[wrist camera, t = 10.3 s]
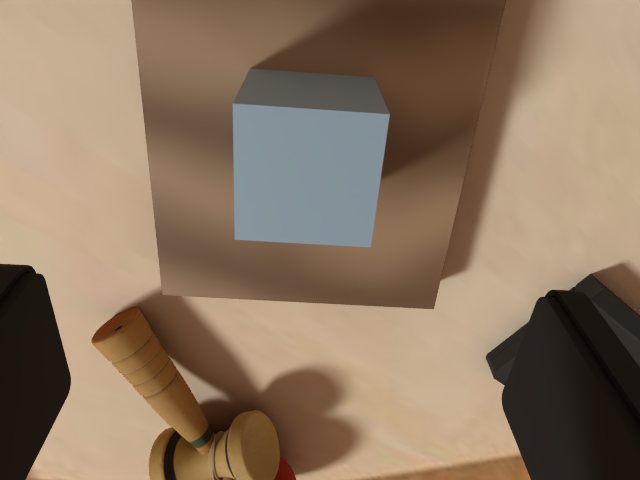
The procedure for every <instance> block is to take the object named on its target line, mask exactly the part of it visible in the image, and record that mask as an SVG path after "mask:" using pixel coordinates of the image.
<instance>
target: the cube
mask: <svg viewBox="0 0 640 480" xmlns="http://www.w3.org/2000/svg"><path fill="white" fill-rule="evenodd" d="M389 117H390V113H389V111H388V109H387V106H386V104H385V102H384V99H383V97H382V95H381V92H380V90H379V87H378V85H377V83H376V80H375V78H374V77H362V76H348V75H334V74H320V73H307V72H293V71H279V70H265V69H251V68H250V69H249V71H248V73H247V75H246V77H245V80H244V82H243V84H242V86H241V88H240V90H239V92H238V94H237V96H236V98H235V100H234V102H233V160H234V227H235V240H249V241H266V242H284V243H301V244H319V245H336V246H354V247H371V242H372V235H373V228H374V221H375V214H376V207H377V200H378V194H379V187H380V180H381V173H382V166H383V159H384V152H385V145H386V138H387V131H388V124H389Z"/></svg>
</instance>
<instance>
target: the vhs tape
mask: <svg viewBox="0 0 640 480" xmlns="http://www.w3.org/2000/svg"><path fill="white" fill-rule="evenodd" d="M569 291H581V292H584V293H585V294H586V295H587V296H588V297H589V299H590V300H591V301H592V303H593V304H594V306H595V307H596V308H597V310H598V311H599V312H600V314H601V315H602V316H603V318H604V319H605V320H606V322H607V323H608V325H609V326H610V327H611V329H612V330H613V331H614V333H615V334H616V335H617V337H618V338H619V339H620V341H621V342H622V343H623V345H624V346H625V348H626V349H627V350H628V352H629V353H630V354H631V356H632V357H633V358H634V360H635V361H636V362H637V364H638V365H639V366H640V315H639V314H637V313H636V312H635V311H634V310H633V309H631V308H630V307H629V306H628V305H627V304H626V303H624V302H623V301H622V300H621V299H620V298H618V297H617V296H616V295H615V294H614V293H613V292H611V291H610V290H609V289H608V288H607V287H606V286H604V285H603V284H602V283H601V282H600V281H598V280H597V279H596V278H595V277H594V276H593V275H591V274H590V275H588V276H587V277H586V278H585V279H583V280H582V281H581V282H579V283H578V284H577V285H576V286H575V287H573V288H572V289H570V290H569ZM528 323H529V322H528ZM528 323H527V324H525V325H524V326H523V327H522V328H520V329H519V330H518V331H516V332H515V333H514V334H513V335H511V336H510V337H509V338H507V339H506V340H505V341H504V342H502V343H501V344H500V345H498V346H497V347H496V348H494V349H493V350H492V351H491V352H489V353H488V354H487V356H486V359H487V362H488V364H489V367H490V369H491V372H492V375H493V377H494V379H496V380H497V381H499V382H500V383H502V384H503V385H505V384H506V381H507V379H508V376H509V373H510V371H511V368H512V365H513V363H514V360H515V358H516V355H517V352H518V350H519V347H520V344H521V342H522V339H523V336H524V334H525V331H526V328H527V326H528Z"/></svg>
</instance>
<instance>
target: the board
mask: <svg viewBox="0 0 640 480" xmlns="http://www.w3.org/2000/svg"><path fill="white" fill-rule="evenodd" d="M505 1H506V0H132V9H133V19H134V28H135V38H136V47H137V57H138V66H139V76H140V85H141V95H142V104H143V114H144V123H145V133H146V142H147V152H148V161H149V171H150V180H151V190H152V199H153V209H154V218H155V228H156V238H157V247H158V257H159V266H160V276H161V285H162V295H173V296H192V297H211V298H231V299H250V300H269V301H288V302H308V303H327V304H346V305H365V306H384V307H404V308H423V309H434V306H435V301H436V297H437V293H438V289H439V284H440V280H441V276H442V271H443V267H444V263H445V259H446V254H447V250H448V246H449V241H450V237H451V233H452V229H453V224H454V220H455V216H456V211H457V207H458V203H459V199H460V194H461V190H462V186H463V181H464V177H465V173H466V169H467V164H468V160H469V156H470V151H471V147H472V143H473V138H474V134H475V130H476V126H477V121H478V117H479V113H480V108H481V104H482V100H483V96H484V91H485V87H486V83H487V78H488V74H489V70H490V66H491V61H492V57H493V53H494V48H495V44H496V40H497V36H498V31H499V27H500V23H501V18H502V14H503V10H504V6H505ZM250 68H251V69H265V70H279V71H293V72H307V73H320V74H334V75H348V76H362V77H374V78H375V80H376V83H377V85H378V87H379V90H380V92H381V95H382V97H383V99H384V102H385V104H386V106H387V109H388V111H389V113H390V117H389V124H388V131H387V138H386V145H385V152H384V159H383V166H382V173H381V180H380V187H379V194H378V200H377V207H376V214H375V221H374V228H373V235H372V242H371V247H354V246H336V245H319V244H301V243H284V242H266V241H249V240H235V227H234V160H233V102H234V100H235V98H236V96H237V94H238V92H239V90H240V88H241V86H242V84H243V82H244V80H245V77H246V75H247V73H248V71H249V69H250Z"/></svg>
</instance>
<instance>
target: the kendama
mask: <svg viewBox="0 0 640 480" xmlns="http://www.w3.org/2000/svg"><path fill="white" fill-rule="evenodd" d="M92 343H93V345H94V346H95V347H96V348H97V349H98V350H99V351H100V352H101V353H102V354H103V355H104V356H105V357H106V358H107V359H108V360H109V361H111V362H112V364H113V365H114V366H115V367H116V369H117V370H118V371H119V372H120V373H122V375H123V376H124V377H125V378H126V379H127V380H128V381H129V383H131V384H132V385H133V387H134V388H135V389H136V390H137V391H138V392H139V394H140V395H142V396H143V398H144V399H145V400H146V401H147V402H148V403H149V404H150V406H151V407H152V408H153V409H154V410H155V411H156V412H157V413H158V414H159V415H160V416H161V417H162V418H163V419H164V420H165V421H166V422H167V423H168V424H169V425H170V426H171V427H172V428H169V429H166V430H165V431H163V432H162V433H161V434H160V435H159V436H158V437H157V439H156V440H155V442H154V444H153V446H152V449H151V454H150V458H149V476H150V480H296V477H295V475H294V473H293V471H292V469H291V467H290V466H289V464H288V463H287V462H286V461H285V460H284V459H283V458H282V457H281V456H280V448H279V441H278V436H277V433H276V430H275V428H274V425H273V423H272V422H271V420H270V419H269V417H268V416H267V415H266V414H265V413H263V412H261V411H258V410H254V411H249V412H244V413H241V414H239V415H238V416H237V417H236V418H235V419H234V421H233V422H232V424H231V426H230V428H229V429H228V430H227V431H226V432H223V431H220V432H218V433H217V434H214V433H213V431H212V429H211V427H210V425H209V423H208V421H207V420H206V417H205V416H204V414H203V412H202V410H201V408H200V406H199V404H198V402H197V401H196V399H195V397H194V395H193V394H192V392H191V390H190V388H189V387H188V385H187V384H186V382H185V381H184V379H183V377H182V376H181V374H180V373H179V371H178V370H177V369H176V367H175V365H174V364H173V362H172V361H171V359H170V358H169V357H168V355H167V353H166V351H165V350H164V348H163V347H162V345H161V344H160V342H159V340H158V339H157V337H156V336H155V334H154V333H153V332H152V329H151V327H150V326H149V324H148V322H147V321H146V319H145V317H144V315H143V314H142V312H141V311H140V309H138V308H131V309H128V310H126V311H124V312H122V313H119V314H117V315H116V316H114V317H113V318H111V319H110V320H109V321H107V322H106V323H105V324H104V325H102V326H101V327H100V328H99V329H98V330H97V332H96V333H95V334H94V336H93V338H92Z"/></svg>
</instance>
